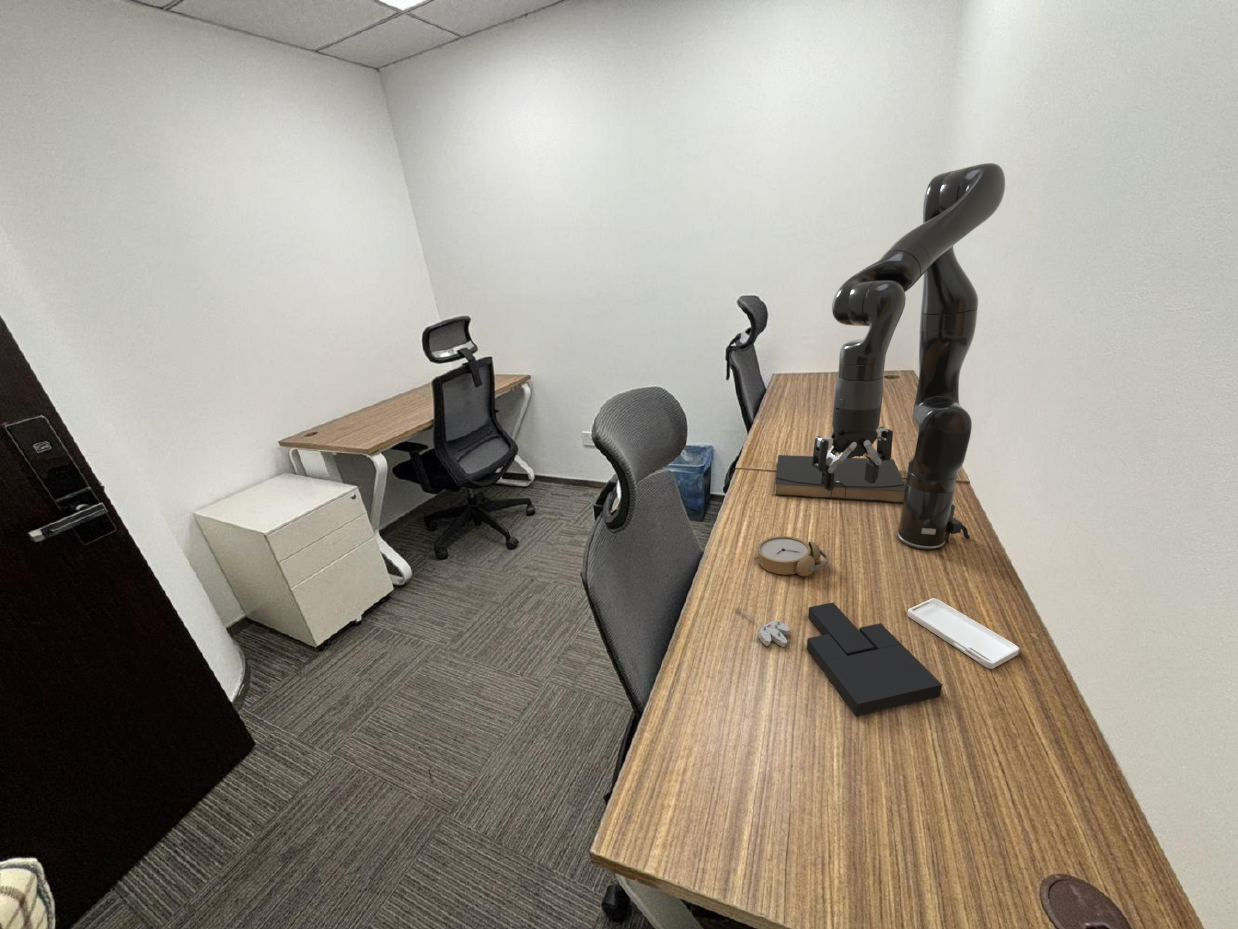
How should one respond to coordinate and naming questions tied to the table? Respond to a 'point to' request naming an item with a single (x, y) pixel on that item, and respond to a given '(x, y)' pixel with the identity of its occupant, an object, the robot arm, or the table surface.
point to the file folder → (838, 480)
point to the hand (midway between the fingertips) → (848, 485)
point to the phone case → (964, 633)
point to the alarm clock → (789, 556)
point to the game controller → (773, 633)
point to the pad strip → (839, 628)
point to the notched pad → (874, 672)
